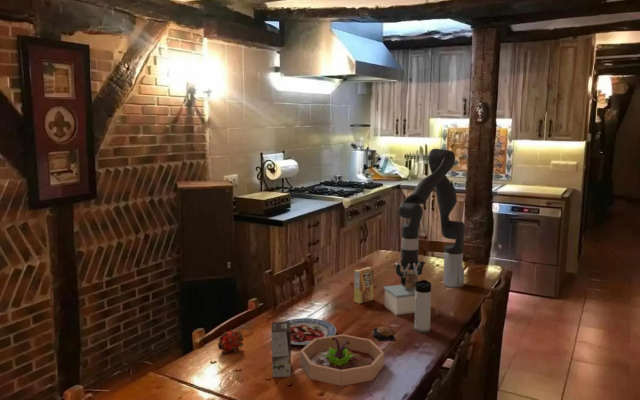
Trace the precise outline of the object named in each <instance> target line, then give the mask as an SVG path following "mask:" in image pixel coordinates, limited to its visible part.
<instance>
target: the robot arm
mask: <svg viewBox="0 0 640 400" xmlns="http://www.w3.org/2000/svg"><path fill="white" fill-rule="evenodd" d="M455 162H456V154H455V153H454V151H452V150H449V149H443V148H442V149H441V148H433V149H431V150H430V151H429V153H428V164H429V165H428V166H429V169H430V172H431V173H430V174H429V175H427V176H426V177H425V178H423V179H421V180H420V181H419V182H418V184H417V185H416V187H414V190H413V191H412V193H410V194H409V195H408V196H407V197H406V198H405V199H404V200H403V201H402V202H401V203H400V204H399V207H398V215H399V216H400V217H401V218H404V219H409V220H410V222H409V223H405V224H403V225H402V227H401V243H400V244H401V245H400V247H401V248H400V257H401V258H400V262H394V267H395V268H394V269H395V272H396V276H398V277H400V285H401V284H402V285H403V286H404V285H405V275H406V273H407V272H409V271H412V272H414V273H415V274H417V277H418V276H419V275H422V274H423V269H424V265H425V262H424V261H423V260H421V259H420V260H419V259H418V258H419V228H420V225H421V222H422V221H421V220H422V218H423V217H422V216H423V215H424V214H423V213H424V212H423V211H424V210H423V207H422V205H423V204H425V203H426V202H427V200H428V199H429V197H430V195H431V194H432V192H433V191H434V190H435V194H436V200H437V205H438V211H439V217H440V228H441V229H440V230H441V235H442V237H443V238H445V239H448V240H449V239H451V240H455V241H454V242H453V243H451V244H446V245H445V246H444V251H443V252H444V253H443V254H444V255H443V278H442V279H443V280H442V281H443V286H445V287H447V288H460V287H462V286H464V285H465V284H464V283H465V282H464V281H465V280H464V278H465V267H464V266H463V263H464V261H463V259H464V248H465V247H464V246H465V245H464V244H465V235H466V233H465V232H466V226H465V223H464V222H463V221H459V220H451V219H450V214H451V212H452V211H453V209H454V208H455V206H456V205H457V202H458V198H457V192H456V188H455V186H454V184H453V183H452V181H451V180H450V179H449V178H448V177H447V176H446V175H447V174H448V173H449V172H450V171H451V169H452V168H453V166H454V165H455Z"/></svg>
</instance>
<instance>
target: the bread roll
mask: <svg viewBox="0 0 640 400" xmlns="http://www.w3.org/2000/svg"><path fill="white" fill-rule="evenodd" d="M372 335H373V338H374V339H375V340H376V341H378V342H392V341H394V340H395V339H396V338H395V336H394V331H393V330H392V329H390V328H389V327H388V326H379V327H375V328H374V329H373V330H372Z"/></svg>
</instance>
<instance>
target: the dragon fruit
mask: <svg viewBox="0 0 640 400" xmlns="http://www.w3.org/2000/svg"><path fill="white" fill-rule="evenodd" d="M243 346H244V338H243V333H242V332H241V331H240V330H238V329H237V330H236V329H235V330H232V329H229V331H224V332H223V334H222V335H221V336H220V337H219V342H218V343H217V348H218V349H219V350H220V351H221V354H229V352H233V353H234V354H235V353H236V352H237V351H238V350H239V348H241V347H243Z"/></svg>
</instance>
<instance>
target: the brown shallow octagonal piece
mask: <svg viewBox="0 0 640 400" xmlns="http://www.w3.org/2000/svg"><path fill="white" fill-rule="evenodd" d="M332 337H335V338H336V339H337V340H338V342H339V344H340V348H342V346H343V344H344V343H345V342H346V341H349V342H350V343H351V345H350V346H348V345H347V343H346V344H345V346H344V347H348V348H349V349H350V351H355V352H359V353H365V354H368V355H370V356H371V357H372V359H374V360H373V361H371V363H370V365H367V366H361V367H356V368H350V369H344V370H339V369H335V368H330V367H326V366H321V365H317V364H312V362H311V358H313V357H314V356H315V354H317V353H323V352H325V351H329V348H333V349H334V350H336V348H337V343H336V340H334V341H333V342H332V341H330V339H331V338H332ZM300 366H301V367H302V368H303V370H304V372H305V373H306V374H307V376H308V378H309V379H310V380H314V381H318V382H322V383H327V384H331V385H334V386H335V385H336V386H338V387H339V386H340V387H343V386H348V385H354V384H359V383H360V384H361V383H366V382H371V381H373V380H375V378H376V377H377V375H378V374H379V373H380V371H382V369H383V368H384V366H385V352H384V351H383V350H382V349H381V348H380V347H379V345H377V344H376V343H375V342H374V341H373V340H372V339H369V338H364V337H358V336H352V335H350V334H349V335H347V334H344V333H343V334H335V336H329V337H322V338H315V339H314V340H312V341H311V342H310V343H309V344H308V345H304V347H303V348H302V349H300Z"/></svg>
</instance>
